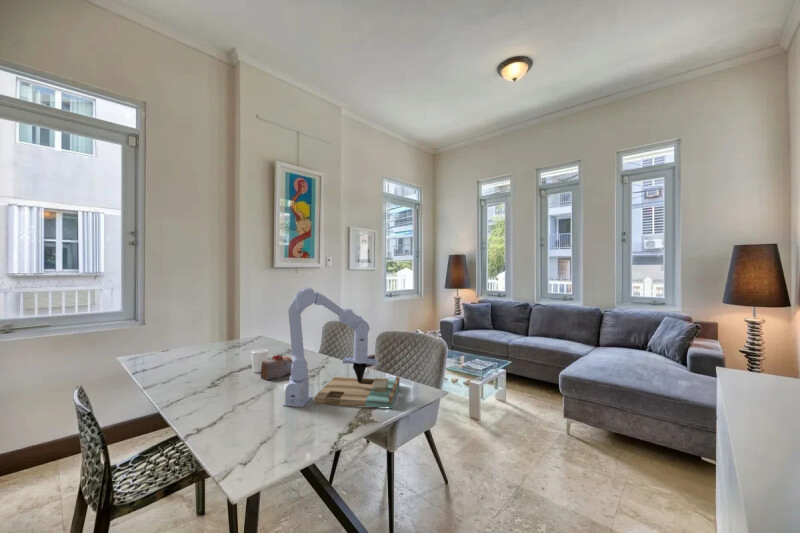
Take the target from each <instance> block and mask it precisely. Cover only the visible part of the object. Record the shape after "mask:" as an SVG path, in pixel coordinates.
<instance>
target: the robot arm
mask: <svg viewBox="0 0 800 533" xmlns="http://www.w3.org/2000/svg"><path fill="white" fill-rule="evenodd" d="M313 304H314V305H316V306H323V307H324V308H326V309H328V310H329V311H330V312H332V313H334V314H335V315H337V317H338V318H337V319H338V321H339V322H342V323H343V324H344V325H346V326H347V327H348V328H350V329H353V331H354V336H353V337H354V338H353V357H343V358H342V364H343V365H346V364H349V365H350V364H352V365H353V366H352V368H353V371H354V373H355V375H356V378H357V380H358V382H362V379H363V378H364V374H365V371H366V369H367V366H369V365H370V366H378V365H379V359H374V358H368V353H369V351H368V350H369V349H368V348H369V347H368V346H369V337H368V336H369V334H368V333H369V332H370V329H371V328H370V324H369V323H368V322H367V321H366V320H364V318H363V317H362V316H361V315H358V314H356V313H355V312H354V310H353V309H351V308H342V307H340V306H339V305H338V304H336V303H335V302H334V301H332V300H331V299H329V298H328V297H327V296H326V295H324V294H323V293H320V292H318V291H316V290H315V291H314V289H313V288H311V287H304V288H302V289H301V290H299V291H298V292H297V293H296V295H295V297H294V298H293V299H292V302H291V304H290V305H289V307H288V323H289V333H290V335H289V336H290V346H291V356H292V358H291V359H292V364H291V373H290V376H289V382H288V385H287V386H286V388H285V402H284V403H283V404H282V406H285V407H300V408H303V407H304V406H305V405H307V403H308V402H309V401H310V400H311V399H312V398H313V395H310V394H309V392H310V388H309V386H310V385H309V384H310V383H309V382H310V380H309V379H310V376H309V368H308V361H307V360H306V359H305V348H304V339H303V329H302V326H303V325H302V316H301V315H302V313H303V312H304V310H306V309H307V308H308V307H310V306H312V305H313Z"/></svg>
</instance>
